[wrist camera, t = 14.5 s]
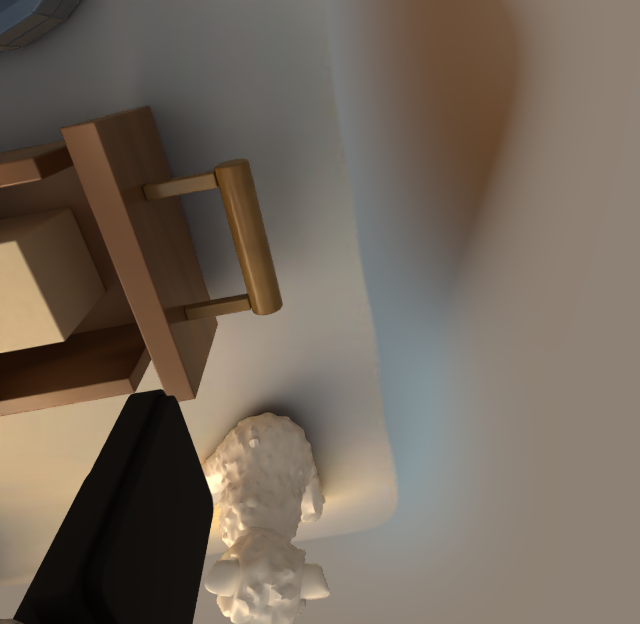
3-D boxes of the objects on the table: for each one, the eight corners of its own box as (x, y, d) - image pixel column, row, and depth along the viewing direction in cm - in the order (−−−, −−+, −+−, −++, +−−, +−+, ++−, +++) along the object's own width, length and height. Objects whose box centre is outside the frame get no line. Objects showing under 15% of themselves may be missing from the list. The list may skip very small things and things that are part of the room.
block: (-22, 223, 23) (-99, 262, 18) (70, 205, 23) (15, 240, 18) (22, 307, 25) (-38, 360, 20) (106, 292, 25) (65, 341, 20)
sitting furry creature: (185, 489, 34) (134, 686, 23) (196, 389, 30) (142, 567, 19) (319, 504, 35) (329, 698, 24) (346, 409, 31) (372, 588, 21)
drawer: (243, 87, 22) (223, 95, 16) (294, 310, 27) (293, 382, 21) (-175, 170, 23) (-348, 208, 17) (-48, 371, 28) (-144, 457, 22)
